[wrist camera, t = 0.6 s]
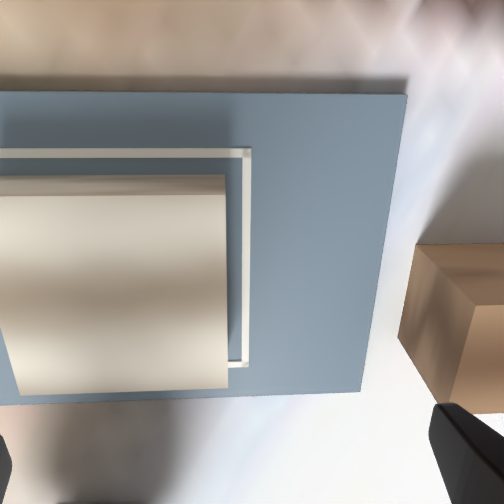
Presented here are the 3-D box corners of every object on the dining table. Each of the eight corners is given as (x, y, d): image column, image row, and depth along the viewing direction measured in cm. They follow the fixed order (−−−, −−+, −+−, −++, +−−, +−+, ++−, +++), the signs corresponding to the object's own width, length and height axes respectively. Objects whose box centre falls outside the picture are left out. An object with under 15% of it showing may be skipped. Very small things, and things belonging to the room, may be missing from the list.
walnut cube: (494, 333, 26) (567, 410, 20) (396, 336, 25) (444, 415, 20) (523, 242, 23) (616, 301, 18) (414, 244, 23) (475, 305, 17)
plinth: (227, 349, 24) (228, 388, 21) (43, 355, 23) (20, 395, 21) (224, 174, 20) (225, 194, 17) (-1, 175, 19) (-38, 196, 16)
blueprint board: (357, 385, 27) (360, 393, 26) (-12, 398, 25) (-18, 407, 24) (402, 93, 19) (408, 95, 19) (-115, 89, 18) (-127, 91, 17)
